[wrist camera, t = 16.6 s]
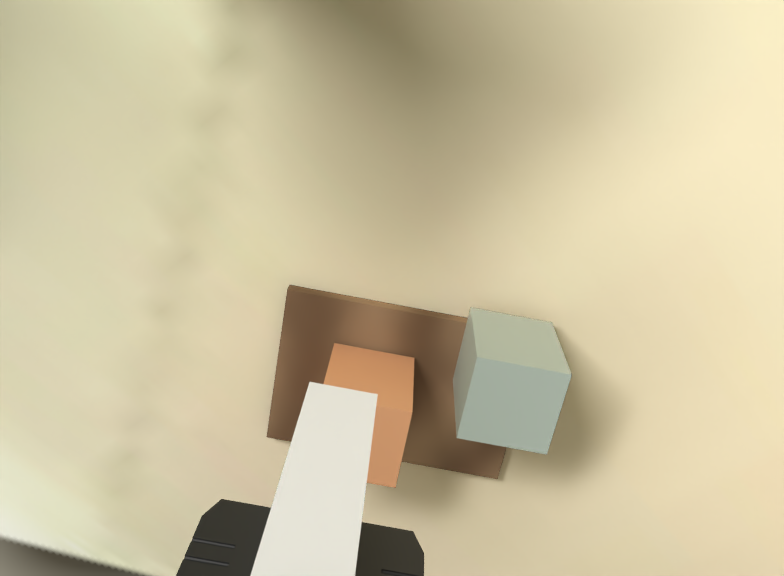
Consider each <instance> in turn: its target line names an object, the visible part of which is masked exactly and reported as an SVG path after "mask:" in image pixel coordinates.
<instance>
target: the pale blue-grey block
mask: <svg viewBox="0 0 784 576" xmlns="http://www.w3.org/2000/svg"><path fill="white" fill-rule="evenodd" d="M571 376H572V374H571V371H570V369H569V366H568V363H567V361H566V358H565V355H564V353H563V350H562V347H561V345H560V342H559V339H558V337H557V334H556V331H555V329H554V326H553V324H552V322H547V321H541V320H536V319H531V318H525V317H520V316H515V315H509V314H504V313H499V312H493V311H488V310H483V309H477V308H472V307H470V311H469V315H468V319H467V323H466V327H465V332H464V336H463V340H462V344H461V348H460V352H459V356H458V360H457V364H456V368H455V373H454V377H453V390H454V406H455V421H456V437H457V438H459V439H465V440H470V441H475V442H481V443H486V444H492V445H497V446H503V447H508V448H514V449H519V450H525V451H530V452H536V453H541V454H547V453H548V449H549V446H550V443H551V440H552V437H553V433H554V430H555V427H556V424H557V420H558V417H559V414H560V411H561V408H562V404H563V401H564V398H565V395H566V392H567V388H568V385H569V382H570V379H571Z"/></svg>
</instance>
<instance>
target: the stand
mask: <svg viewBox="0 0 784 576" xmlns="http://www.w3.org/2000/svg"><path fill="white" fill-rule="evenodd" d="M467 319H468V318H464V317H459V316H453V315H448V314H443V313H437V312H432V311H427V310H421V309H416V308H411V307H405V306H400V305H395V304H389V303H384V302H379V301H373V300H368V299H362V298H357V297H352V296H346V295H341V294H336V293H330V292H325V291H320V290H314V289H309V288H304V287H298V286H293V285H289V287H288V289H287V296H286V303H285V311H284V318H283V325H282V332H281V339H280V346H279V353H278V360H277V367H276V375H275V382H274V389H273V396H272V403H271V410H270V417H269V424H268V432H267V437H269V438H275V439H280V440H286V441H292V438H293V435H294V431H295V428H296V425H297V421H298V418H299V415H300V412H301V408H302V405H303V402H304V399H305V395H306V392H307V389H308V385H309V382H314V383H319V384H324V380H325V376H326V372H327V369H328V365H329V361H330V357H331V354H332V350H333V346H334V343H337V344H343V345H348V346H354V347H359V348H364V349H370V350H375V351H381V352H386V353H391V354H397V355H402V356H408V357H413V358H414V385H413V412H412V416H411V421H410V425H409V430H408V434H407V439H406V443H405V448H404V452H403V456H402V461H401V462H407V463H412V464H418V465H423V466H429V467H434V468H440V469H446V470H451V471H457V472H462V473H468V474H473V475H479V476H484V477H490V478H495V479H498V475H499V472H500V468H501V465H502V461H503V458H504V454H505V451H506V447H503V446H497V445H492V444H486V443H481V442H475V441H470V440H465V439H459V438H457V437H456V421H455V406H454V390H453V377H454V373H455V368H456V364H457V360H458V356H459V352H460V348H461V344H462V340H463V336H464V332H465V327H466V323H467Z"/></svg>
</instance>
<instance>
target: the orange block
mask: <svg viewBox="0 0 784 576" xmlns="http://www.w3.org/2000/svg"><path fill="white" fill-rule="evenodd" d="M324 384H325V385H330V386H336V387H341V388H347V389H352V390H357V391H363V392H368V393H374V394H378V396H377V404H376V412H375V420H374V428H373V436H372V444H371V452H370V460H369V468H368V476H367V483H372V484H377V485H383V486H388V487H394V488H396V483H397V479H398V474H399V470H400V465H401V461H402V456H403V452H404V448H405V443H406V439H407V434H408V430H409V425H410V421H411V416H412V412H413V385H414V358H413V357H408V356H402V355H397V354H391V353H386V352H381V351H375V350H370V349H364V348H359V347H354V346H348V345H343V344H337V343H334V346H333V350H332V354H331V357H330V361H329V365H328V369H327V372H326V376H325V380H324Z"/></svg>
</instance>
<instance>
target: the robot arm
mask: <svg viewBox="0 0 784 576" xmlns="http://www.w3.org/2000/svg"><path fill="white" fill-rule="evenodd" d="M377 396H378V394H374V393H368V392H363V391H357V390H352V389H347V388H341V387H336V386H330V385H325V384H319V383H314V382H309V385H308V389H307V392H306V395H305V399H304V402H303V405H302V408H301V412H300V415H299V418H298V421H297V425H296V428H295V431H294V435H293V438H292V441H291V444H290V448H289V451H288V454H287V457H286V461H285V464H284V467H283V471H282V474H281V477H280V480H279V484H278V487H277V490H276V493H275V497H274V500H273V503H272V507H271V508H269V507H263V506H258V505H252V504H247V503H241V502H236V501H230V500H224V499H221V500H220V501H219V502H218V503H216V504H215V505H214V506H213V507H212V508H211V509H209V510H208V511H207V512H206V513H205V514H204V515H202V517H201V519H200V522H199V524H198V526H197V529H196V531H195V533H194V536H193V539H192V542H191V543H190V545H189V547H188V550H187V552H186V554H185V558H184V560H183V561H182V563H181V566H180V568H179V570H178V573H177V575H176V576H424V552H423V550H422V548H421V546H420V544H419V542H418V540H417V538H416V536H415V534H414V532H413V531H408V530H402V529H397V528H391V527H386V526H380V525H374V524H369V523H363V522H362V515H363V508H364V500H365V492H366V484H367V476H368V468H369V460H370V452H371V444H372V436H373V428H374V420H375V412H376V404H377Z"/></svg>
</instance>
